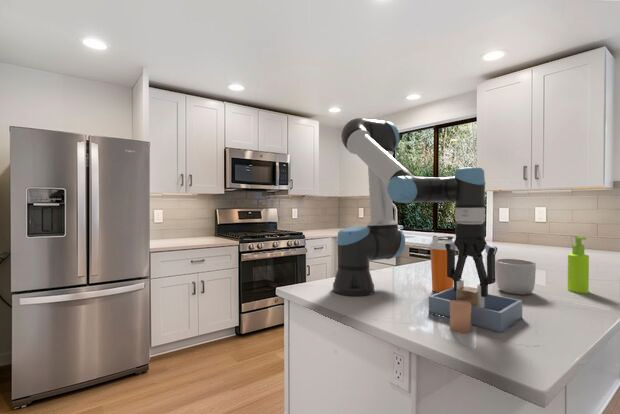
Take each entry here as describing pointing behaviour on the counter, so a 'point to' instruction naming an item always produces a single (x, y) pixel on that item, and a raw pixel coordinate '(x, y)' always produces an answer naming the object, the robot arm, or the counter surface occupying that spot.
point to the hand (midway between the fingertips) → (470, 305)
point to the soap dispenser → (578, 268)
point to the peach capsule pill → (460, 316)
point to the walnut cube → (468, 295)
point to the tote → (481, 310)
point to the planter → (515, 275)
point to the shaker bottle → (440, 263)
